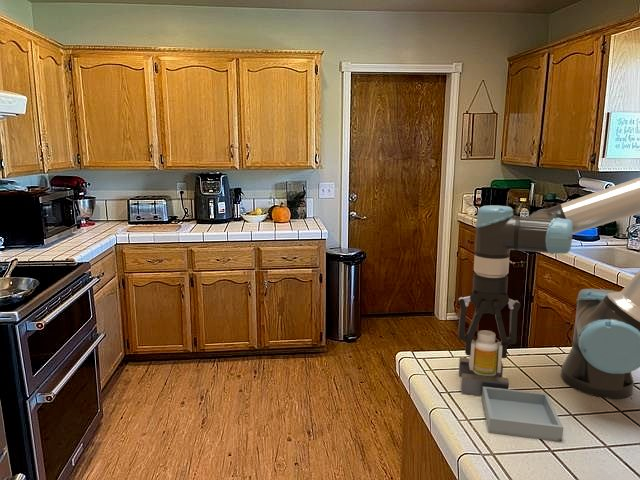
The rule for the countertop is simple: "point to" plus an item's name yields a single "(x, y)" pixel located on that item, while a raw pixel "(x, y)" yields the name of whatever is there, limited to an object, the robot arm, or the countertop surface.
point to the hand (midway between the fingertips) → (484, 368)
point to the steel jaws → (479, 379)
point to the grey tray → (521, 414)
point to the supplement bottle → (485, 354)
